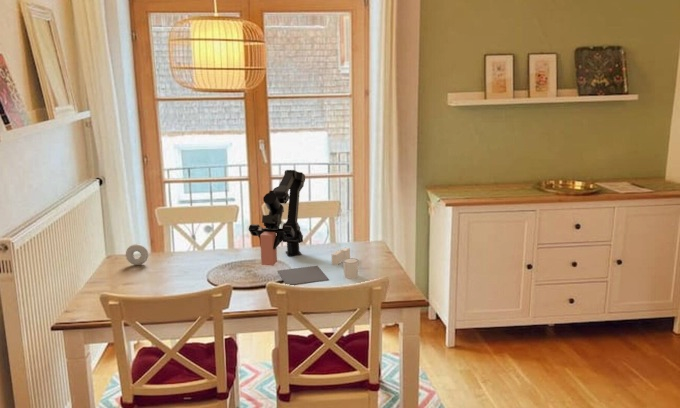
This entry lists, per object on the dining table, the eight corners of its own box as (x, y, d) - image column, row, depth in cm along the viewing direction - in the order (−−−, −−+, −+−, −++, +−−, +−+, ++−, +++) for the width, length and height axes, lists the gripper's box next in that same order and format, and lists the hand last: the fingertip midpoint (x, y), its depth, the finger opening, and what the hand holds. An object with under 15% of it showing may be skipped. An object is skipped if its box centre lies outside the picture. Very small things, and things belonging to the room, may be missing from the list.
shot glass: (345, 280, 242) (345, 264, 240) (341, 274, 248) (340, 258, 247) (361, 278, 244) (361, 262, 242) (356, 272, 250) (356, 257, 249)
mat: (277, 271, 254) (277, 270, 254) (317, 266, 259) (317, 265, 259) (286, 285, 237) (286, 284, 237) (329, 280, 242) (328, 279, 242)
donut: (150, 263, 268) (148, 242, 266) (148, 265, 265) (146, 244, 262) (127, 264, 267) (125, 243, 265) (125, 266, 264) (123, 245, 261)
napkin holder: (332, 268, 257) (332, 256, 256) (322, 261, 267) (322, 249, 266) (362, 263, 263) (362, 251, 262) (352, 256, 273) (351, 244, 272)
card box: (265, 260, 247) (264, 231, 244) (277, 261, 246) (275, 232, 243) (261, 264, 242) (260, 234, 239) (273, 265, 241) (271, 235, 238)
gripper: (248, 205, 244) (240, 238, 237) (291, 207, 240) (284, 241, 232) (256, 219, 254) (248, 251, 246) (297, 220, 250) (291, 253, 242)
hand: (267, 249), depth 241 cm, fingers closed on card box, 5 cm apart
